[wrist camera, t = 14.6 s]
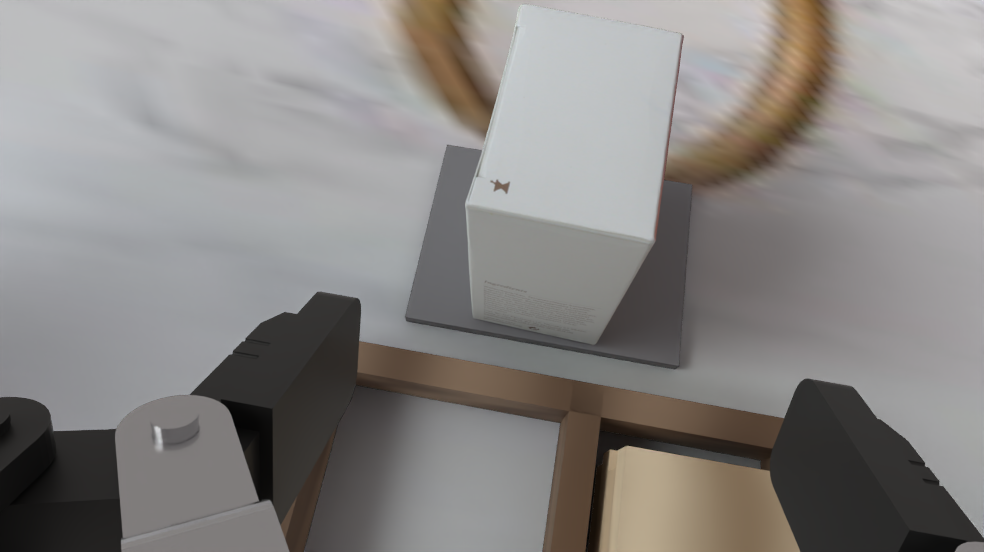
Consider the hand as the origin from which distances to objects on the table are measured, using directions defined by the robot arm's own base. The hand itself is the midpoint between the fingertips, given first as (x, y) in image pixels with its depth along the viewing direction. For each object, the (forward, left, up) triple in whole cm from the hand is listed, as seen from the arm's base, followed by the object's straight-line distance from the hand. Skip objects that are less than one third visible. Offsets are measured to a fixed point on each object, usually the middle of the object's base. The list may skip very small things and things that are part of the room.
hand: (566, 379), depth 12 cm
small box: (0, +9, -15) cm, 18 cm away
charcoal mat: (0, +9, -16) cm, 18 cm away
